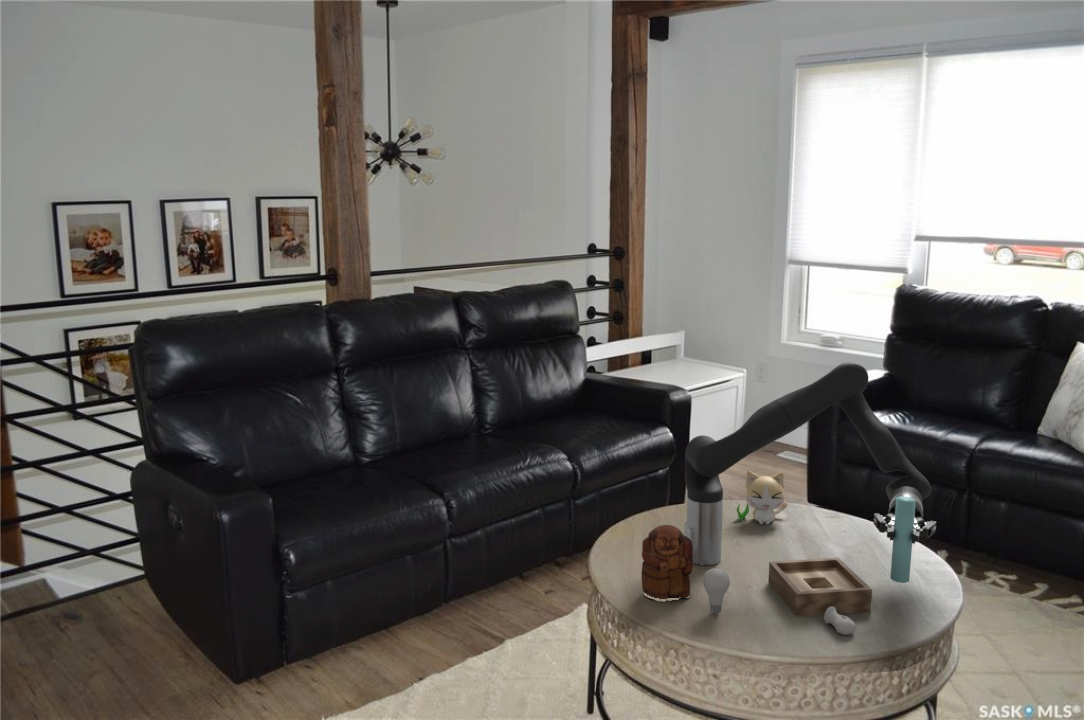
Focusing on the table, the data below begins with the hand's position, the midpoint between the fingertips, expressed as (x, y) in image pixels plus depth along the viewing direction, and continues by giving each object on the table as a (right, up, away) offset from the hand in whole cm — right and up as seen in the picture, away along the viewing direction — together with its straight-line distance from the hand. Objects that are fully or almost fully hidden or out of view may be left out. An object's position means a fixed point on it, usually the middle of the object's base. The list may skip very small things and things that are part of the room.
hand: (902, 537), depth 197 cm
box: (-13, -18, +18) cm, 28 cm away
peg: (+1, -10, +5) cm, 11 cm away
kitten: (-15, -8, +66) cm, 68 cm away
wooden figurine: (-50, -18, +19) cm, 56 cm away
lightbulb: (-40, -20, +10) cm, 45 cm away
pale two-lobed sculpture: (-13, -21, +2) cm, 25 cm away
